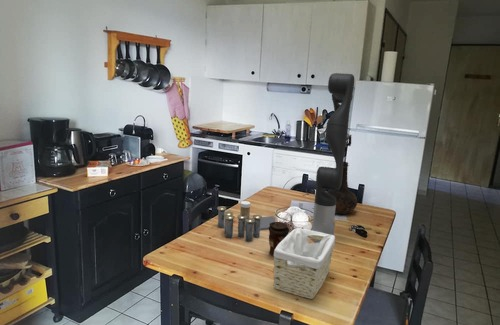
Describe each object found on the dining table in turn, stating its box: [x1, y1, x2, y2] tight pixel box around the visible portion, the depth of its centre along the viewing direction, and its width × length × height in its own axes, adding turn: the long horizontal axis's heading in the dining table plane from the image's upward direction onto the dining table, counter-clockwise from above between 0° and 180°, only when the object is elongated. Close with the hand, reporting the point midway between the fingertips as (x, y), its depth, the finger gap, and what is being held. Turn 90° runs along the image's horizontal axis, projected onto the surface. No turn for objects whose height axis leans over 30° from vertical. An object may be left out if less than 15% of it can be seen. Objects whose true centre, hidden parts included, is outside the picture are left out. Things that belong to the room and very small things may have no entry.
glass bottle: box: [326, 161, 358, 215], centre depth 200 cm, size 18×18×28 cm
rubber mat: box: [252, 215, 276, 231], centre depth 179 cm, size 13×13×1 cm
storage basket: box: [273, 227, 336, 300], centre depth 129 cm, size 24×16×15 cm
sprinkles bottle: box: [239, 200, 251, 232], centre depth 170 cm, size 5×5×14 cm
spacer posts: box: [216, 205, 263, 243], centre depth 166 cm, size 21×16×10 cm
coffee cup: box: [268, 221, 290, 259], centre depth 147 cm, size 9×8×13 cm
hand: (337, 150), depth 210 cm, fingers open, 8 cm apart
